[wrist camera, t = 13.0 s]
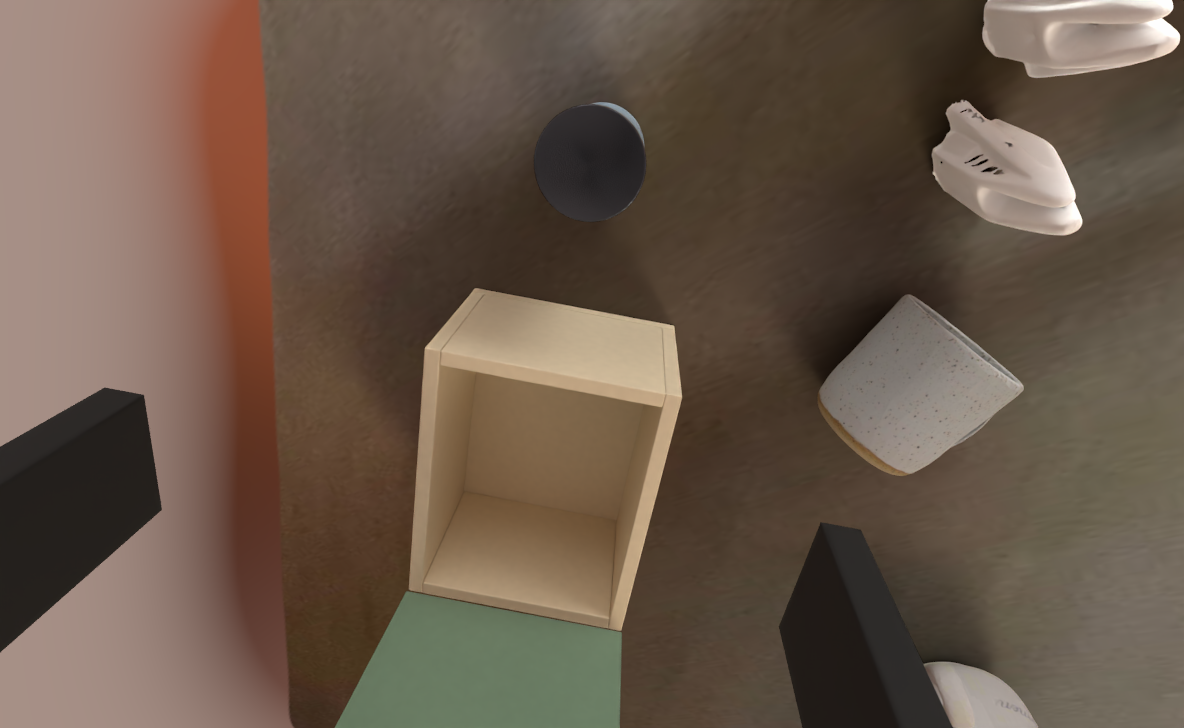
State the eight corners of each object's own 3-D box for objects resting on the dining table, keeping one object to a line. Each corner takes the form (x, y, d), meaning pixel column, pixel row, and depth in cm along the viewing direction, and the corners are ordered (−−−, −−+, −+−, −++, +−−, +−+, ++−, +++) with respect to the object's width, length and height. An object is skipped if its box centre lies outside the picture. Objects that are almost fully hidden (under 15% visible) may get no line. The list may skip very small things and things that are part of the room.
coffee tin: (555, 100, 34) (531, 104, 27) (647, 99, 34) (647, 104, 27) (558, 193, 36) (535, 221, 29) (644, 194, 36) (644, 222, 29)
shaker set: (984, -52, 30) (1154, -120, 20) (1075, -46, 30) (1292, -111, 20) (914, 203, 35) (1022, 251, 25) (991, 209, 35) (1131, 260, 25)
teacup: (1001, 733, 51) (1060, 842, 44) (861, 739, 53) (896, 845, 45) (1015, 603, 46) (1085, 701, 38) (859, 614, 47) (897, 711, 40)
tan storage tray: (475, 287, 39) (424, 347, 30) (674, 325, 39) (682, 396, 30) (455, 491, 46) (408, 590, 37) (626, 523, 46) (621, 631, 37)
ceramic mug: (794, 380, 40) (828, 445, 33) (887, 276, 37) (946, 323, 30) (919, 462, 42) (976, 540, 35) (1018, 370, 39) (1102, 435, 32)
